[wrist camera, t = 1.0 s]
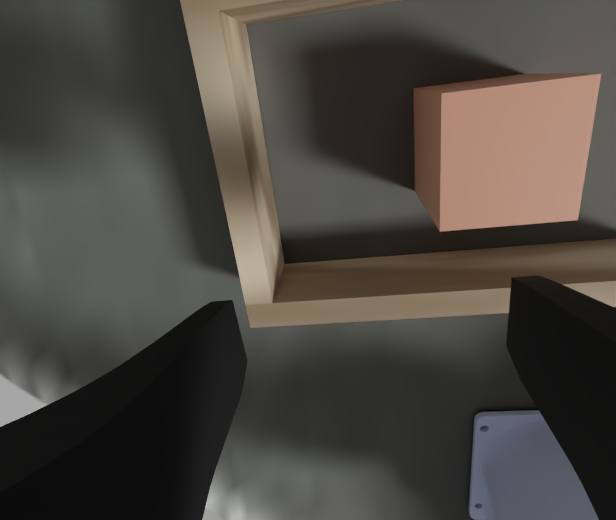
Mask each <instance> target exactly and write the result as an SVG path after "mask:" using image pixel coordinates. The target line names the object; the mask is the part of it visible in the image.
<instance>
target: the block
mask: <svg viewBox="0 0 616 520" xmlns="http://www.w3.org/2000/svg"><path fill="white" fill-rule="evenodd" d="M600 79H601V73H600V74H520V75H512V76H504V77H497V78H489V79H481V80H473V81H465V82H457V83H450V84H442V85H434V86H426V87H418V88H414V154H415V192H416V193H417V195H418V197H419V198H420V200H421V202H422V203H423V205H424V206H425V208H426V210H427V211H428V213H429V215H430V216H431V218H432V220H433V221H434V223H435V225H436V226H437V228H438V230H439V231H440V232H442V231H454V230H466V229H478V228H490V227H502V226H514V225H526V224H538V223H550V222H562V221H574V220H578V216H579V210H580V204H581V197H582V191H583V185H584V179H585V172H586V166H587V160H588V154H589V147H590V141H591V135H592V129H593V123H594V116H595V110H596V104H597V98H598V91H599V85H600Z"/></svg>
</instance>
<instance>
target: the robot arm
mask: <svg viewBox="0 0 616 520" xmlns="http://www.w3.org/2000/svg"><path fill="white" fill-rule="evenodd" d="M506 346H507V348H508V351H509V353H510V355H511V358H512V360H513V363H514V365H515V368H516V370H517V372H518V374H519V377H520V379H521V381H522V383H523V384H524V386H525V388H526V390H527V391H528V393H529V395H530V396H531V398H532V400H533V401H534V403H535V405H536V406H537V408H538V410H532V411H497V412H480V413H478V414H477V415H476V416H475V418H474V432H473V448H472V464H471V480H470V496H469V514H470V517H471V518H472V519H474V520H616V308H614V307H612V306H610V305H607V304H605V303H603V302H601V301H598V300H596V299H594V298H592V297H589V296H587V295H585V294H583V293H580V292H578V291H576V290H574V289H571V288H569V287H567V286H564V285H562V284H560V283H557V282H555V281H552V280H550V279H547V278H545V277H541V276H538V275H536V276H523V277H512V278H511V291H510V304H509V318H508V331H507V344H506ZM246 366H247V357H246V353H245V349H244V345H243V341H242V337H241V333H240V329H239V325H238V321H237V317H236V313H235V309H234V305H233V301H232V300H228V301H216V302H210V303H208V304H207V305H205V306H203V307H202V308H200V309H199V310H197V311H196V312H195V313H193V314H192V315H191V316H189V317H188V318H186V319H185V320H184V321H182V322H181V323H180V324H178V325H177V326H176V327H174V328H173V329H172V330H170V331H169V332H168V333H166V334H165V335H163V336H162V337H161V338H159V339H158V340H157V341H155V342H154V343H152V344H151V345H149V346H148V347H146V348H145V349H143V350H142V351H141V352H139V353H138V354H136V355H135V356H133V357H132V358H130V359H129V360H127V361H126V362H124V363H123V364H121V365H120V366H118V367H117V368H115V369H113V370H112V371H110V372H108V373H107V374H105V375H103V376H102V377H100V378H98V379H96V380H95V381H93V382H91V383H89V384H88V385H86V386H84V387H82V388H81V389H79V390H77V391H75V392H73V393H71V394H69V395H67V396H65V397H63V398H61V399H59V400H57V401H55V402H53V403H51V404H49V405H47V406H45V407H43V408H41V409H39V410H37V411H35V412H33V413H31V414H29V415H27V416H24V417H22V418H20V419H18V420H16V421H13V422H11V423H9V424H6V425H4V426H2V427H0V520H202V518H203V514H204V510H205V505H206V501H207V497H208V493H209V489H210V485H211V482H212V479H213V475H214V472H215V469H216V466H217V463H218V460H219V457H220V454H221V451H222V449H223V446H224V443H225V440H226V437H227V434H228V431H229V428H230V426H231V423H232V420H233V417H234V414H235V411H236V408H237V405H238V402H239V399H240V396H241V392H242V387H243V383H244V378H245V372H246ZM482 426H484V427H482Z"/></svg>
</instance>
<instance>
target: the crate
mask: <svg viewBox="0 0 616 520" xmlns="http://www.w3.org/2000/svg"><path fill="white" fill-rule="evenodd" d="M396 1H402V0H180V2H181V7H182V12H183V16H184V21H185V26H186V30H187V35H188V39H189V44H190V49H191V53H192V58H193V63H194V67H195V72H196V77H197V81H198V86H199V91H200V95H201V100H202V105H203V109H204V114H205V118H206V123H207V128H208V132H209V137H210V142H211V146H212V151H213V156H214V160H215V165H216V170H217V174H218V179H219V184H220V188H221V193H222V197H223V202H224V207H225V211H226V216H227V221H228V225H229V230H230V235H231V239H232V244H233V249H234V253H235V258H236V263H237V267H238V272H239V276H240V281H241V286H242V290H243V295H244V300H245V304H246V309H247V314H248V318H249V323H250V328H256V327H273V326H291V325H308V324H325V323H343V322H360V321H378V320H395V319H412V318H430V317H447V316H465V315H482V314H500V313H509V304H510V291H511V278H512V277H523V276H536V275H538V276H541V277H545V278H547V279H550V280H552V281H555V282H557V283H560V284H562V285H564V286H567V287H569V288H571V289H574V290H576V291H578V292H580V293H583V294H585V295H587V296H589V297H592V298H594V299H596V300H598V301H601V302H603V303H605V304H607V305H610V306H612V307H616V239H603V240H590V241H577V242H564V243H551V244H538V245H525V246H512V247H499V248H486V249H473V250H460V251H448V252H435V253H422V254H409V255H396V256H383V257H370V258H357V259H344V260H331V261H318V262H305V263H292V264H285V263H284V257H283V250H282V244H281V238H280V232H279V226H278V219H277V213H276V207H275V201H274V195H273V188H272V182H271V176H270V170H269V164H268V157H267V151H266V145H265V139H264V133H263V126H262V120H261V114H260V108H259V102H258V95H257V89H256V83H255V77H254V71H253V64H252V58H251V52H250V46H249V40H248V33H247V27H246V25H248V24H254V23H260V22H267V21H273V20H280V19H286V18H293V17H299V16H306V15H312V14H319V13H325V12H331V11H338V10H344V9H351V8H357V7H364V6H370V5H377V4H383V3H390V2H396Z"/></svg>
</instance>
